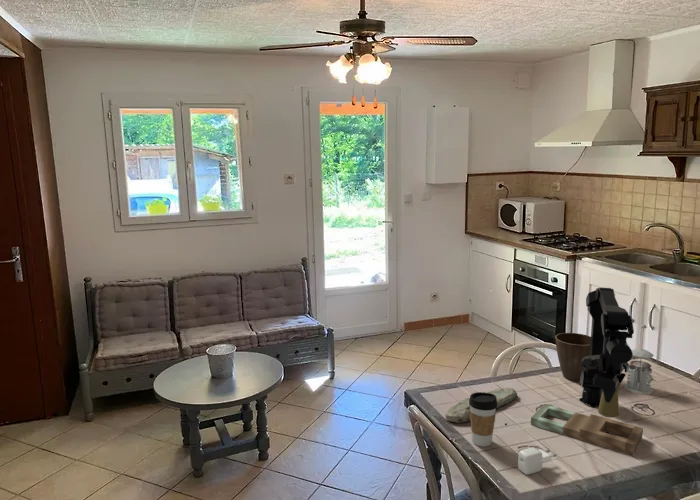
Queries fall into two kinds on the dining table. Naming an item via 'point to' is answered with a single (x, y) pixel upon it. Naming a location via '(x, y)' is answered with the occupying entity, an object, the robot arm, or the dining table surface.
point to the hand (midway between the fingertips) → (609, 399)
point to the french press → (639, 372)
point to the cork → (609, 405)
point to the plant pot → (572, 353)
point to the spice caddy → (590, 428)
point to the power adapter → (533, 460)
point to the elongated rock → (463, 408)
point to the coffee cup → (482, 417)
